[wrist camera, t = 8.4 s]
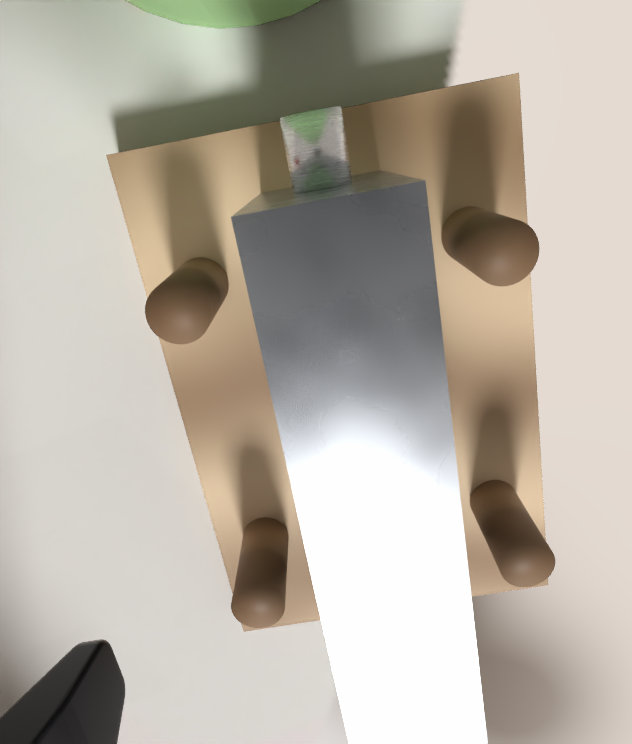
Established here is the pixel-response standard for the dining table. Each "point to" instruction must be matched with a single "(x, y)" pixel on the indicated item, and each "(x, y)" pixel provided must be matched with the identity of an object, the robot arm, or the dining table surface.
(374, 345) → the gray rectangular plank
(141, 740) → the dining table surface
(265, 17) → the mug
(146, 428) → the dining table surface
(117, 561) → the dining table surface
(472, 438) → the tool rest
